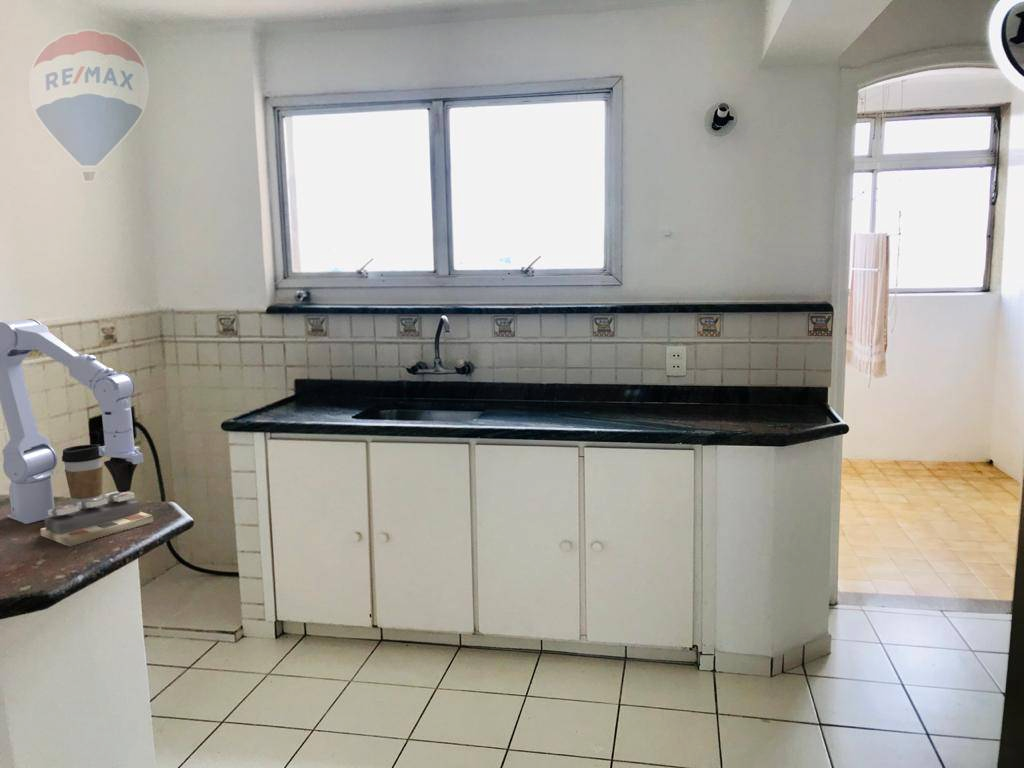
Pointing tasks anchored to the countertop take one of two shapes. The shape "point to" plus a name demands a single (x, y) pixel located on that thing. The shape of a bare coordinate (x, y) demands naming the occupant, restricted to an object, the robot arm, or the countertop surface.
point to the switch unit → (95, 522)
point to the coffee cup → (83, 472)
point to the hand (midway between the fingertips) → (124, 491)
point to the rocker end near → (63, 510)
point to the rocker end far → (119, 496)
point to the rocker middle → (92, 503)
